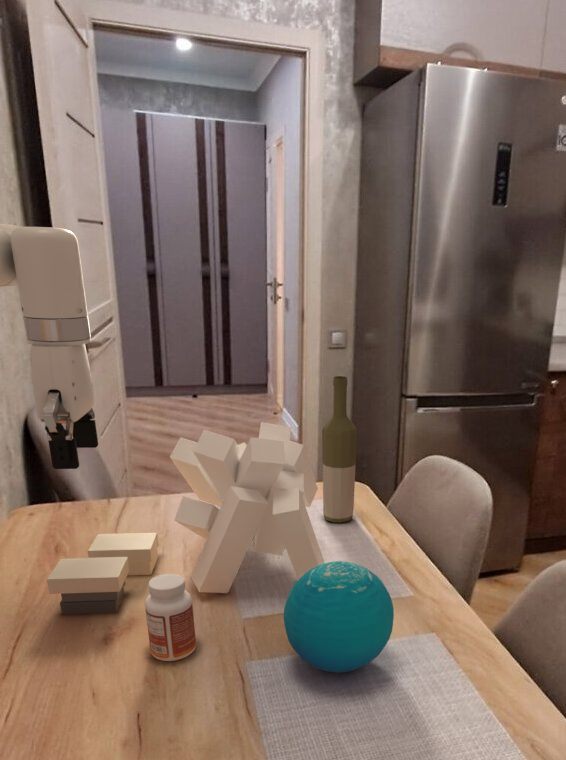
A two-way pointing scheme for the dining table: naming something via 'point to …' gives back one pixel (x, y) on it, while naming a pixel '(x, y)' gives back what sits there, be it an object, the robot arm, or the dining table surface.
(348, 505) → the bottle
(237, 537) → the pile of blocks
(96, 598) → the grey books
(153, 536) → the white books
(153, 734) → the dining table surface
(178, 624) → the pill bottle
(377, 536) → the dining table surface
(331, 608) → the decorative orb
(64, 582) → the cream flat block
